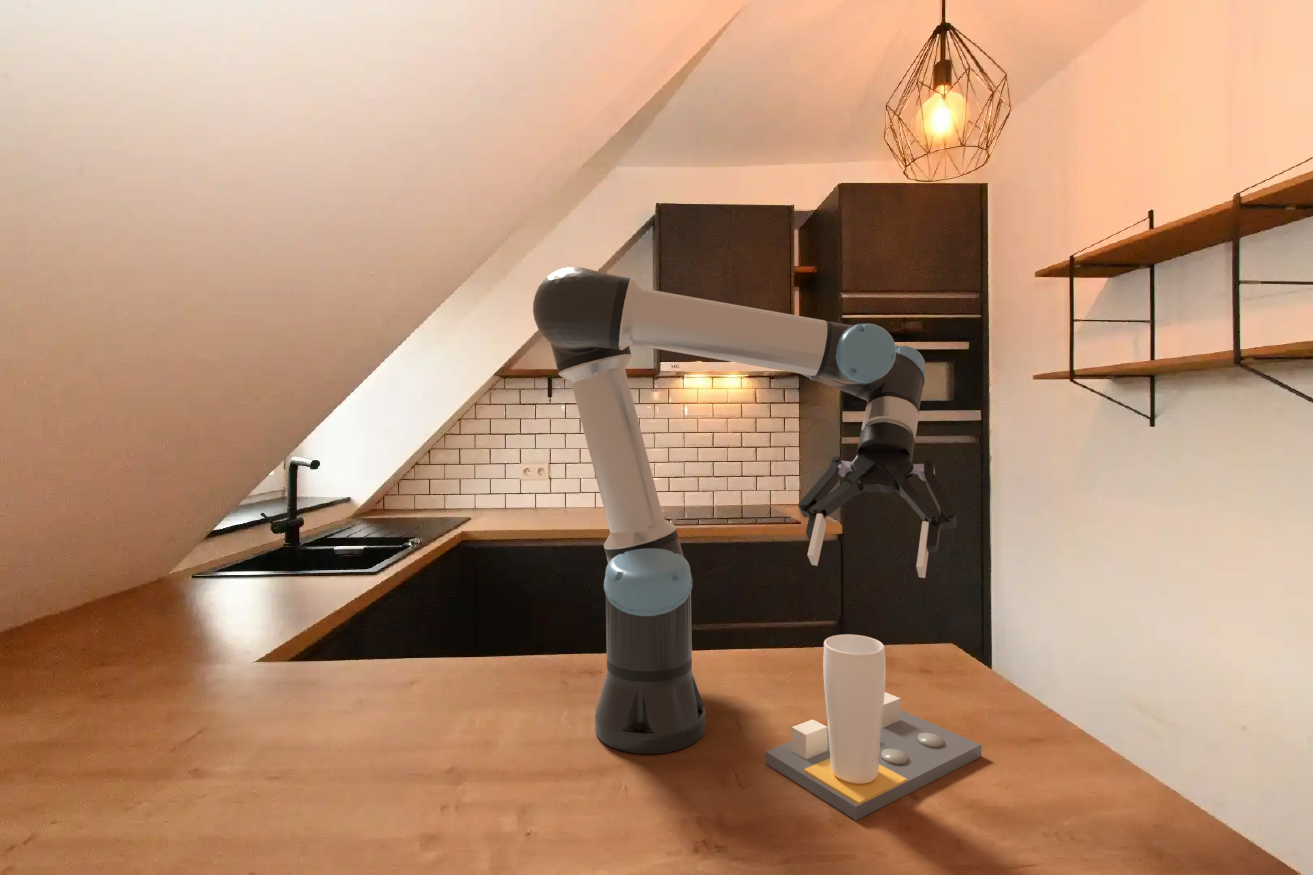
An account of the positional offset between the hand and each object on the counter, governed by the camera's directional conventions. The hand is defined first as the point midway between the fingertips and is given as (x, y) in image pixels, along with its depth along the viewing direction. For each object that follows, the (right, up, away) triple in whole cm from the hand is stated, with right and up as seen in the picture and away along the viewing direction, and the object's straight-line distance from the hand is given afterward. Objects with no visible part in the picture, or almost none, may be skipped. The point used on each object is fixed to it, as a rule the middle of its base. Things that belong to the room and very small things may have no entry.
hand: (864, 566), depth 87 cm
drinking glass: (-4, -22, -10) cm, 24 cm away
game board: (0, -23, -3) cm, 23 cm away
